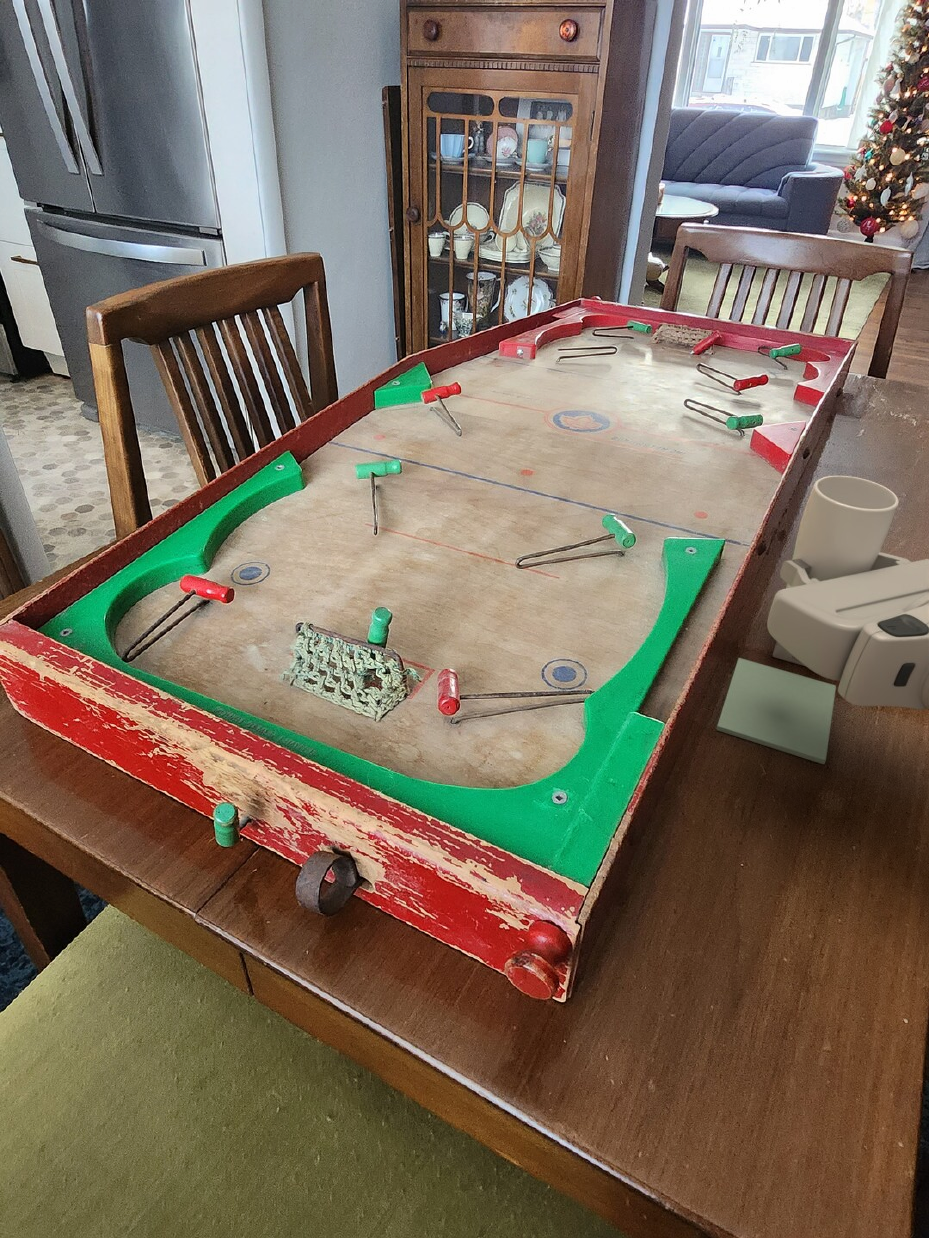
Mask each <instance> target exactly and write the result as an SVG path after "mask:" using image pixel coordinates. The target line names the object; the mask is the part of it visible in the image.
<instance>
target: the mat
mask: <svg viewBox="0 0 929 1238" xmlns="http://www.w3.org/2000/svg"><path fill="white" fill-rule="evenodd" d="M731 677H732V678H731V681H730V684H729V687H728V690H727V694H726V697H725V699H724V703H723V706H722V709H721V712H720V715H719V716H720V717H718V722H717V725H716V727H715V728H716V731H718V732H721V733H724V734H727V735H730V736H733V737H737V738H740V739H743V740H746V741H748V742H749V741H750V742H752V743H755V744H758V745H761V746H765V747H768V748H771V749H774V750H777V751H780V752H783V753H786V754H790V755H793V756H797V757H798V758H802V759H805V760H809V761H811V762H815V763H818V764H821V765H825V763H826V761H827V755H828V749H829V748H828V747H829V740H830V733H831V726H832V718H833V713H834V704H835V698H836V691H837V685H835V684H831V683H828V682H824V681H821V680H819V679H818V680H817V679H814V678H811V677H808V676H804V675H800V674H797V673H794V672H790V671H786V670H783V669H779V668H777V667H773V666H769V665H765V664H762V663H759V662H755V661H752V660H748V659H746V658H741V657H738V658H737V661H736V665H735V668H734V671H733V674H732V676H731Z"/></svg>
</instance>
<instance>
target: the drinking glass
mask: <svg viewBox="0 0 929 1238" xmlns="http://www.w3.org/2000/svg"><path fill="white" fill-rule="evenodd" d="M899 502H900V501H899V498H898V496H897V495H896V493H895V492H893V491H892V490H891V489H889V487H886V486H884V485H882V484H880V483H878V482H875V481H873V480H869V479H865V478H861V477H857V476H851V475H827V476H824V477H821V478H818V479H817V480H816V481H815V482H814V483H813V486H812V489H811V491H810V494H809V497H808V499H807V502H806V505H805V508H804V510H803V513H802V517H801V520H800V524H799V528H798V530H797V531H798V532H797V534H796V535H797V536H796V540H795V544H794V549H793V553H792V554H793V555H792V557H791V560H794V559H801V560H802V561H803V562H804V563H807V564H808V565H809V566H811V569H810V572H809V574H808V577H809V579H810V580H811V579H813V578H816V579H817V580H819V581H825V580H830V579H834V578H839V577H844V576H848V575H853V574H858V573H863V572H867V571H870V570H871V568H872V567H873V565H874V563H875V561H876V559H877V557H878V555H879V553H880V552H881V551H882V548H883V546H884V544H885V543H886V540H887V537H888V535H889V532H890V530H891V528H892V525H893V521H894V519H895V517H896V513H897V509H898V506H899V504H900V503H899ZM786 588H791V586H790V585H789V584H788V583H786V586H785V589H786Z"/></svg>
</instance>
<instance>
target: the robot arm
mask: <svg viewBox="0 0 929 1238" xmlns="http://www.w3.org/2000/svg"><path fill="white" fill-rule="evenodd" d="M810 569H811V566H809V565H808V564H807V563H804V562H803V561H802V560H801V559H794V560H792V559H789V560H785V561H783V562H782V565H781V568H780V571H779V577H780V579H781V580H782V581H784V582H785V583H786V584H787V583H788V584H789V585H790V586H791V588H786V587H785V588H782V589H779V590H777V591H776V593H775V595H774V597H773V599H772V602H771V606H770V609H769V612H768V615H767V622H766V626H767V631H768V633H769V634H770V636H771V637H772V638H773V640H774V641H775V642H776V641H777V642H778V643H779V644H780V645H781V646H783V647H784V648H785V649H786V650H787V651H788V652H789V653H790V654H792V655H793V656H794V657H795V658H797V659H798V660H799V661H800V662H801V663H803V664H804V665H805V666H804V667H806V666H807V667H806V668H807V669H809V670H810V671H812V672H814V673H815V674H817V675H819V676H821V677H823V678H825V679H828V680H831V681H838V682H839V685H838V687H837V693H838V694H839V695H840V696H841V697H842V698H843V700H845V701H846V702H847V703H849V704H850V705H853V706H856V707H893V708H906V709H911V710H917V711H924V710H929V558H924V559H920V560H919V559H918V560H916V561H910V560H909V559H908V558H905V557H901V556H897V555H893V554H890V553H886V552H881V551H880V553H879V555H878V557H877V559H876V561H875V563H874V565H873V567H872V568H871V570H870V571H867V572H863V573H858V574H853V575H848V576H844V577H839V578H834V579H830V580H825V581H819V580H817V579H816V578H813V579H811V580H810V579H809V577H808V574H809V572H810Z"/></svg>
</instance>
